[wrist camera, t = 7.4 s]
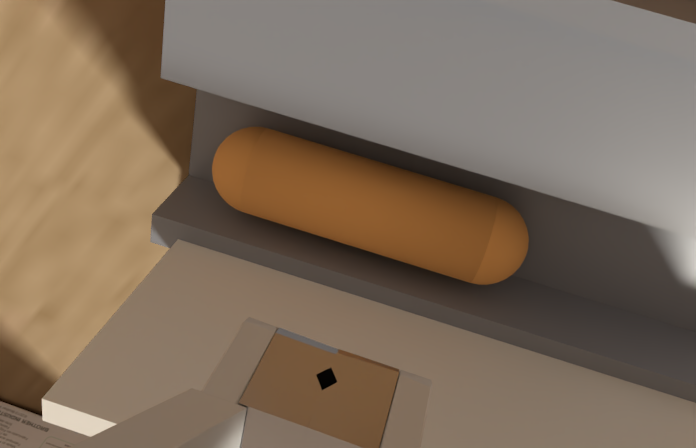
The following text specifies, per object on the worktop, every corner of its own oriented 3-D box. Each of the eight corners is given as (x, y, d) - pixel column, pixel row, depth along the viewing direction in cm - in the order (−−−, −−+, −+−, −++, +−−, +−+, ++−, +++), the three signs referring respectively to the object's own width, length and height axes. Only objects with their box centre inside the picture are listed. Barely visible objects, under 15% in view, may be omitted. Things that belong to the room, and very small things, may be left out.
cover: (860, 674, 15) (838, 690, 15) (748, 419, 21) (734, 435, 22) (41, 398, 16) (42, 420, 16) (178, 238, 22) (176, 257, 23)
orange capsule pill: (506, 278, 23) (535, 201, 23) (515, 310, 21) (548, 224, 20) (220, 189, 24) (238, 111, 23) (190, 208, 21) (209, 120, 20)
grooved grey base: (960, 67, 18) (1085, 133, 14) (679, 428, 27) (708, 531, 23) (230, -135, 20) (158, -127, 16) (188, 271, 28) (135, 343, 24)
